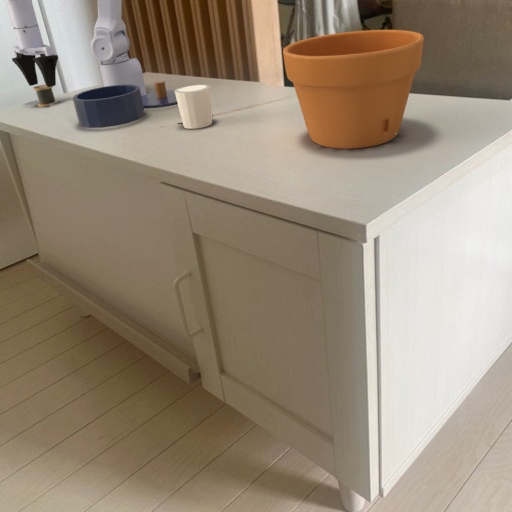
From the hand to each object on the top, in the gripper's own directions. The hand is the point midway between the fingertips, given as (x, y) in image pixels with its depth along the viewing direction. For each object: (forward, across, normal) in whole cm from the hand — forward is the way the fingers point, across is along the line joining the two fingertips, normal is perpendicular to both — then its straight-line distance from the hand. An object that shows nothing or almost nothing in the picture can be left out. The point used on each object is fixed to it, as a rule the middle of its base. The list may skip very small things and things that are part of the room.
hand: (42, 85), depth 135 cm
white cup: (+5, +54, -3) cm, 54 cm away
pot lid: (+4, +32, +9) cm, 34 cm away
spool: (+5, 0, 0) cm, 5 cm away
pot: (+5, +32, -6) cm, 33 cm away
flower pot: (+5, +86, 0) cm, 86 cm away
